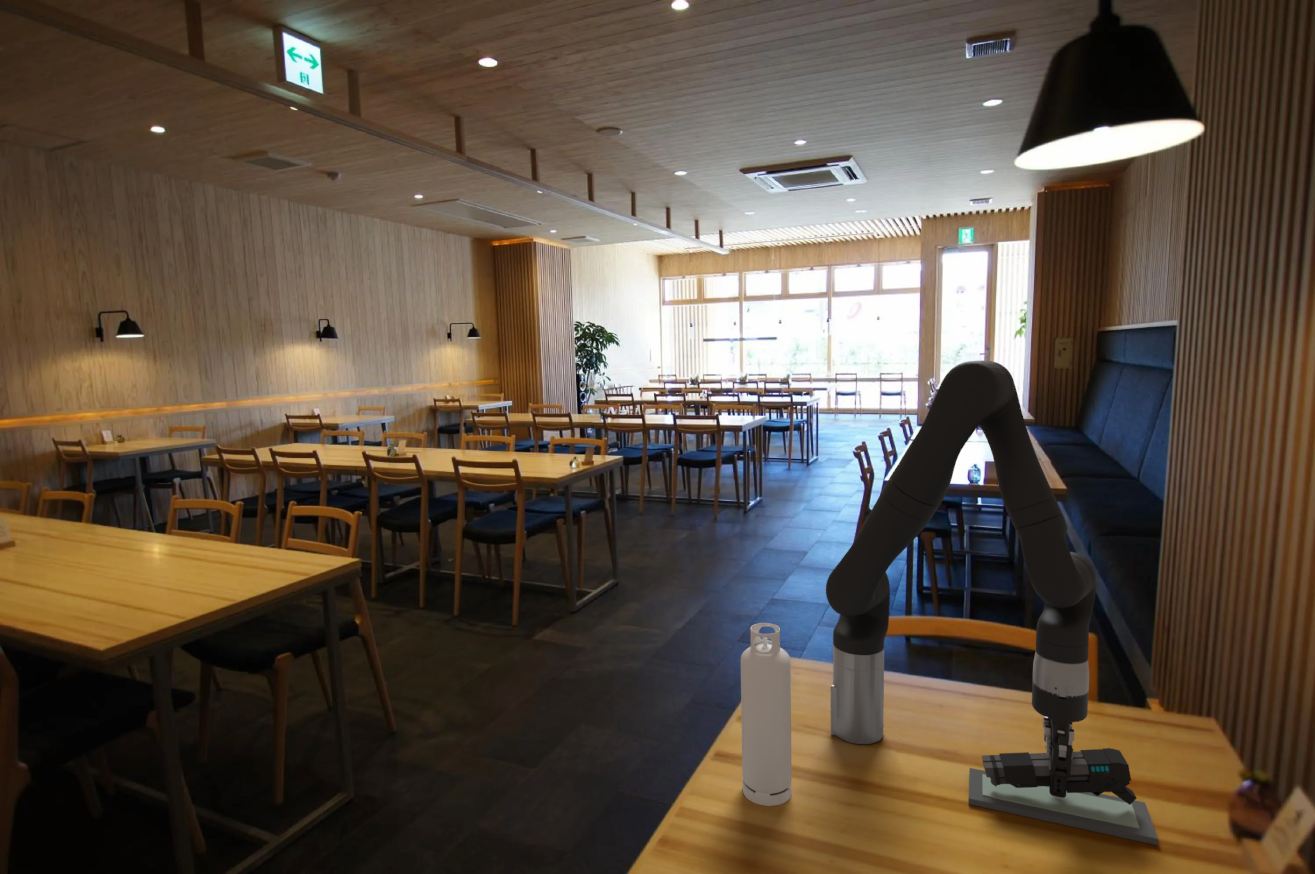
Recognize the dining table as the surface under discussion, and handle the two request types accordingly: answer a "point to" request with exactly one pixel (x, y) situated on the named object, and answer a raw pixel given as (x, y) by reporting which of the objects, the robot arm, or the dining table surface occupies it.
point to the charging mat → (1065, 808)
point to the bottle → (766, 718)
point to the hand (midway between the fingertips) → (1055, 785)
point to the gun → (1087, 766)
